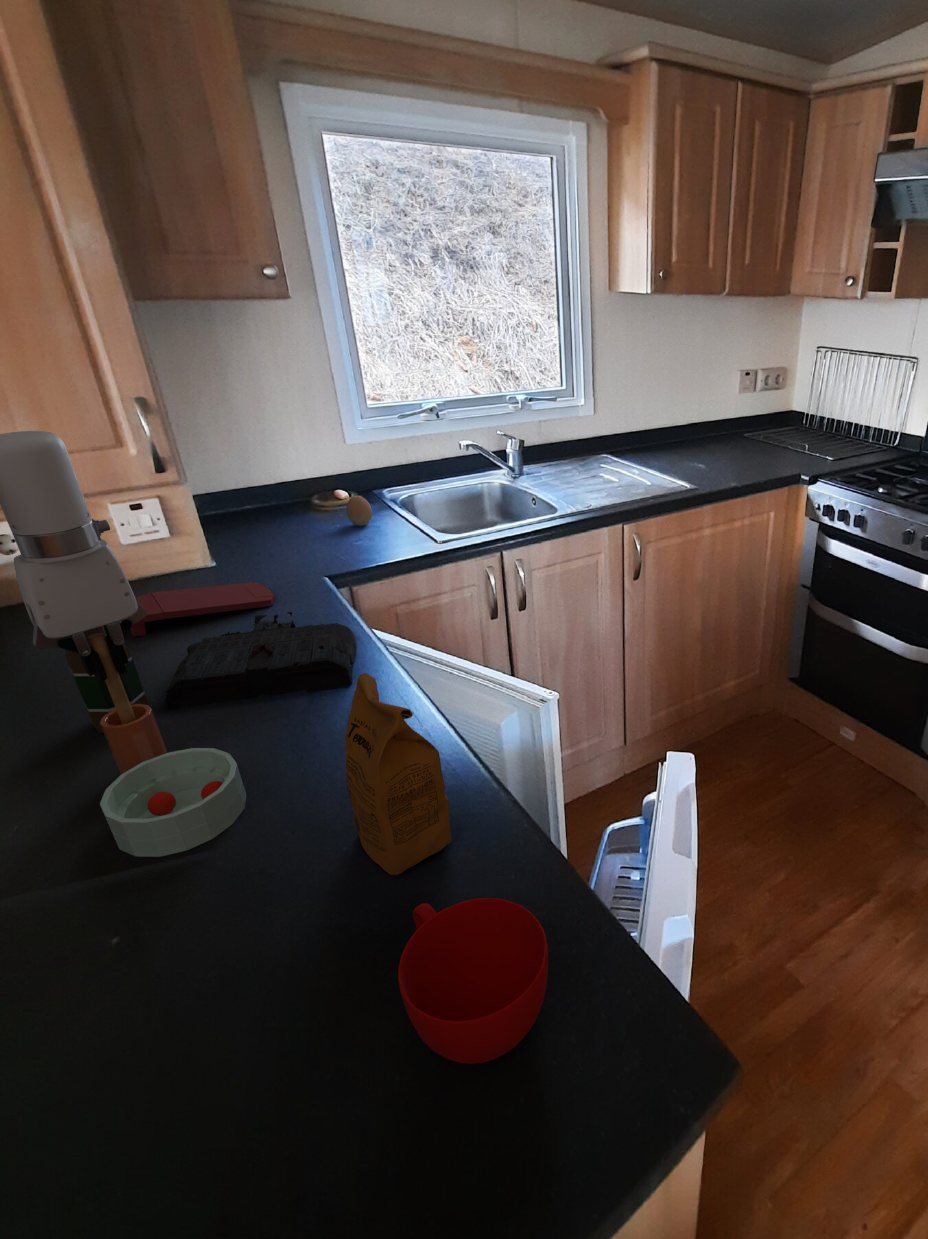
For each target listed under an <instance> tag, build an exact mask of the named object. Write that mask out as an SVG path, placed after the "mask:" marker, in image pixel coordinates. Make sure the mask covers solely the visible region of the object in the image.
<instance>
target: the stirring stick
mask: <svg viewBox="0 0 928 1239" xmlns="http://www.w3.org/2000/svg"><path fill="white" fill-rule="evenodd" d="M88 639H89V641H90V644H91V647H92V648H93V651H95V652H97V653H98V655H99V658H100V660H101V663H102V665H103V668H104V670H105V673H106V675H107V679H106V680H105V682H106V685H107V687H108V690H109V692H110V695H111V697H112V700H113V702H114V705H115V707H116V710H117V712H118V715H119V718H120V720H121V723H122V724H128V723H130V722H133V721H135V720H136V718H135V715H134V713H133V710H132V707H131V705H130V702H129V700H128V697H127V694H126V692H125V689H124V686H123V684H122V681H121V679H120V676H119V673H118V671H117V668H116V666H115V663H114V661H113V658H112V655H111V653H110V650H109V648H108V645H107V642H106V639H105V637H104V634H103V633H95V634H92V635H90V636H89V637H88Z"/></svg>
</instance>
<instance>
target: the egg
mask: <svg viewBox="0 0 928 1239" xmlns="http://www.w3.org/2000/svg"><path fill="white" fill-rule="evenodd" d="M371 506H372V505H371V504H370V503H369V501H368V500H367V499H366V498H365V497H363V496H362V495H353V496H351V497H350V498H349V499H348V501H347V503H346V507H345V512H346V516H347V519H348V520H349V522H350V523H352V524H353V525H355V526H358V527H359V526H360V527H364V526H365V525H368V523H369V522H370V521H371V519H372V517H373V510H372V507H371Z"/></svg>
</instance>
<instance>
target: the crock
mask: <svg viewBox="0 0 928 1239" xmlns="http://www.w3.org/2000/svg"><path fill="white" fill-rule="evenodd" d="M149 706H150V705H149ZM149 706H148V705H144V704H133V705H131V707H132V710H133V713H134V715H135V718H136V720H135V721H133V722H130V723H128V724H122V723H121V720H120V718H119V715H118V712H117V710H116V709H115V710H112V711H111V712H109V713H108V714H106V715H105V716H103V717H102V719H101V721H100V725H101V727H102V730H103V732H104V733H103V734H104V737H105V740H106V742H107V745H108V747H109V749H110V752H111V755H112V757H113V759H114V761H115V765H116V766H117V769H118V771H119V775H121V774H123V773H125V772H126V771H128V770H130V769H132V768H133V767H135V766H137V765H138V764H140V763H142V762H144V761H147V760H150V759H152V758H155V757H158V756H160V755H163V754H166V753H168V750H167V747H166V744H165V741H164V739H163V736H162V734H161V731H160V728H159V726H158V723H157V720H156V718H155V714H154V711H153V708H152V707H149Z"/></svg>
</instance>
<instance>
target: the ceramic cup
mask: <svg viewBox="0 0 928 1239" xmlns="http://www.w3.org/2000/svg"><path fill="white" fill-rule="evenodd" d="M412 918H413V921H414V924H415V926H416V929H417V930H415V931H414V933H413V934H412V936H411V937H410V939H408V941H407V942H406V945H405V946H404V949H403V951H402V953H401V955H400V960H399V964H398V968H397V969H398V970H397V972H398V973H397V974H398V979H397V980H398V986H399V991H400V995H401V999H402V1002H403V1005H404V1008H405V1010H406V1013H407V1015H408V1018H409V1020H410V1022H411V1024H412V1026H413V1027H414V1030H416V1033H417V1034H418V1036H419V1037H420V1039H421V1040H422V1041H423V1042H424V1043H425V1044H426V1045H427V1046H428V1047H429V1048H430V1049H431V1050H432V1051H433V1052H435V1053H436V1054H437V1055H440V1056H441V1057H443V1058H445V1059H447V1060H449V1061H452V1062H455V1063H458V1064H469V1065H473V1064H483V1063H486V1062H489V1061H492V1060H493V1061H494V1060H495V1059H497V1058H500V1057H502V1056H503V1055H505V1054H507V1053H508V1052H510V1051H511V1050H512V1049H514V1048H515V1047H516V1046H517V1045H518V1044H519V1043H520V1042H521V1041H522V1040H523V1039H524V1038H525V1037H526V1036H527V1034H528V1033H529V1032H530V1031H531V1029H532V1027H533V1026H534V1024H535V1022H536V1020H537V1018H538V1016H539V1013H540V1011H541V1010H542V1006H543V1003H544V999H545V995H546V990H547V987H548V986H547V985H548V977H549V976H548V973H549V946H548V941H547V937H546V932H545V931H544V928H543V926H542V925H541V922H540V921H539V920H538V918H537V917H536V916H535V915H534V914H533V913H532V912H531V911H529V909H527V908H526V907H524V906H523V905H520V904H518V903H515V902H514V901H510V900H506V899H503V898H494V897H483V898H482V897H481V898H473V899H469V900H464V901H461V902H458V903H455V904H452V905H450V906H448V907H446V908H444V909H442V910H441V911H438V912H436V910H435V909H434V908H433V907H432V905H430V904H429V903H428V902H427V903H426V902H424V903H420V904H419V905H417V906H416V907H415V908H414V909H413V911H412Z"/></svg>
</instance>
